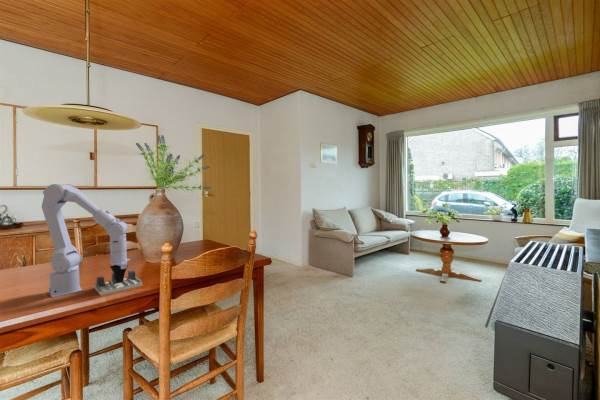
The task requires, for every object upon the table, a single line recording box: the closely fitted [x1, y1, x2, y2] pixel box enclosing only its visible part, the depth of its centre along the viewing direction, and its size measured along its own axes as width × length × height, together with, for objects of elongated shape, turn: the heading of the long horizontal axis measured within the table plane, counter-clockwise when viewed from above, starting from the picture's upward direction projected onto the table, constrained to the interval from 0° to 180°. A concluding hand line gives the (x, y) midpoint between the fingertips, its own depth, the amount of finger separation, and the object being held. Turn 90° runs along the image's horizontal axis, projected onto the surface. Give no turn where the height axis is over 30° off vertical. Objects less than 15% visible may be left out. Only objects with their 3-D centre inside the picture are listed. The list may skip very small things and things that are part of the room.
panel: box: [93, 269, 143, 297], centre depth 118 cm, size 15×12×5 cm
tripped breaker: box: [110, 272, 117, 283], centre depth 120 cm, size 3×3×4 cm
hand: (119, 282), depth 117 cm, fingers closed
